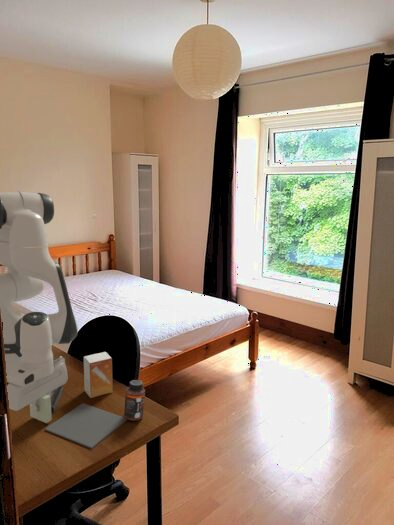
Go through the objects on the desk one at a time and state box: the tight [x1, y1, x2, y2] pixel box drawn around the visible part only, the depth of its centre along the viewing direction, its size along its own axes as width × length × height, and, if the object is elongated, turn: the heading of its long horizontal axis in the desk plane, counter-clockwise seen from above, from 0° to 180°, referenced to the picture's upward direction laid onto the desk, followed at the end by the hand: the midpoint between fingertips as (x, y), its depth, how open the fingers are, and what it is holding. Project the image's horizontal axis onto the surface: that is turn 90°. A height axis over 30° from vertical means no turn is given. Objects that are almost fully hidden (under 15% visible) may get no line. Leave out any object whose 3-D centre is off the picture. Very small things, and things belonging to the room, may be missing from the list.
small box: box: [83, 351, 113, 399], centre depth 143 cm, size 8×6×13 cm
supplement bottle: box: [123, 379, 146, 422], centre depth 128 cm, size 6×6×11 cm
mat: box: [44, 402, 128, 450], centre depth 125 cm, size 18×16×1 cm
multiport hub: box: [51, 385, 64, 414], centre depth 137 cm, size 4×14×2 cm, turn 6°
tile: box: [29, 395, 53, 424], centre depth 125 cm, size 7×2×8 cm, turn 62°
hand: (40, 408), depth 126 cm, fingers closed on tile, 2 cm apart
